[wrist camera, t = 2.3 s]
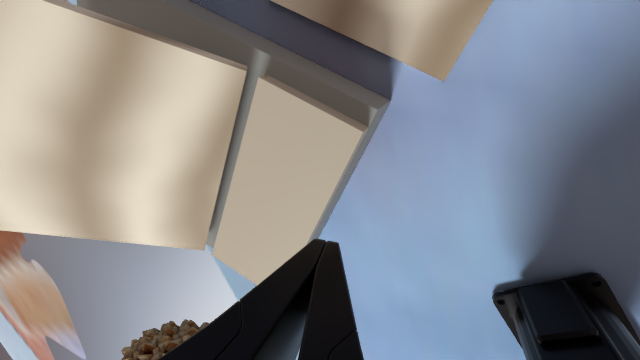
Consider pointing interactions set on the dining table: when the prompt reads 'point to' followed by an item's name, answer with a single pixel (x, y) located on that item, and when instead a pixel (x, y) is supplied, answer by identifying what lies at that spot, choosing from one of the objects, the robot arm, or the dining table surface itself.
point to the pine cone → (160, 340)
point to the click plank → (109, 127)
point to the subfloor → (269, 135)
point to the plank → (402, 27)
